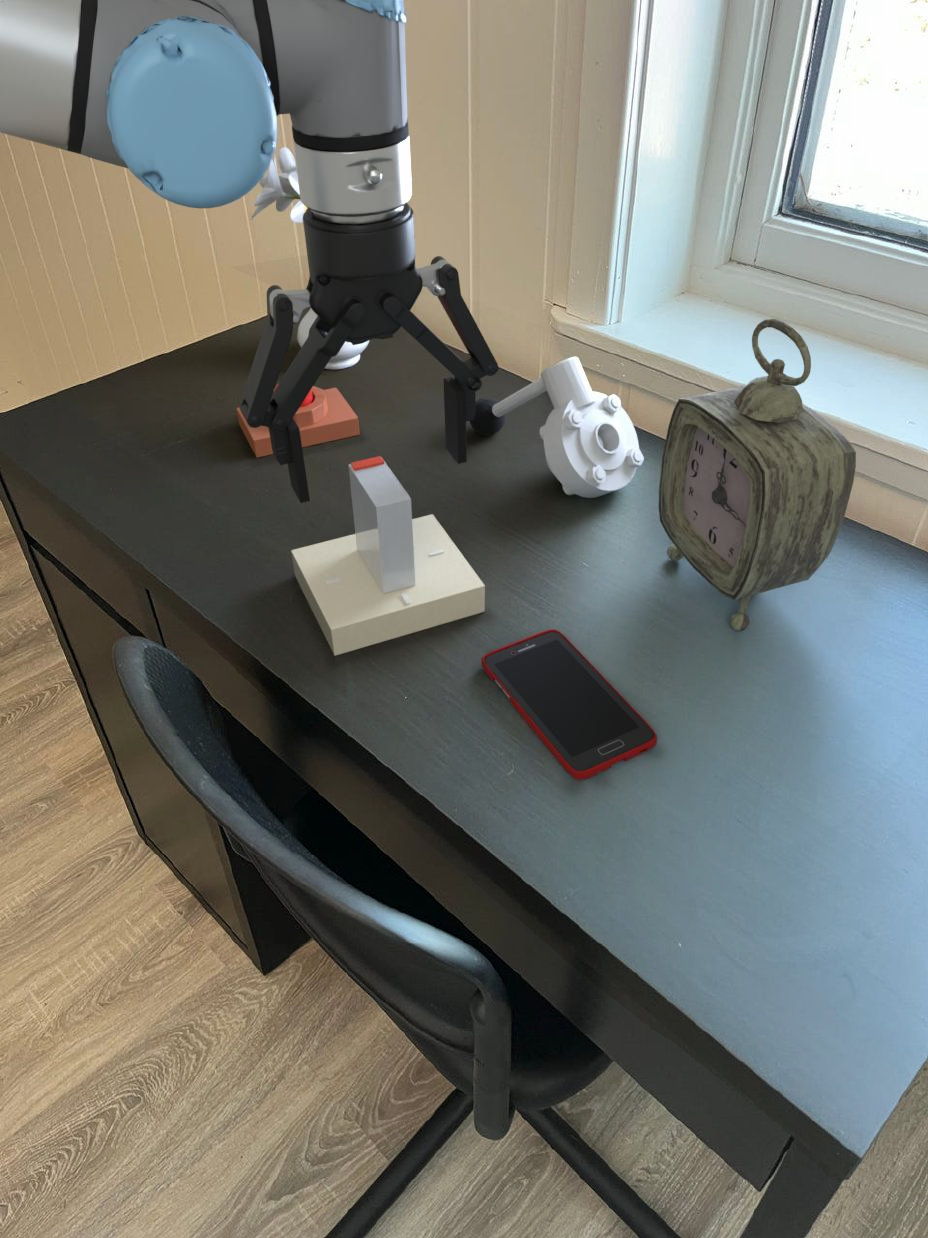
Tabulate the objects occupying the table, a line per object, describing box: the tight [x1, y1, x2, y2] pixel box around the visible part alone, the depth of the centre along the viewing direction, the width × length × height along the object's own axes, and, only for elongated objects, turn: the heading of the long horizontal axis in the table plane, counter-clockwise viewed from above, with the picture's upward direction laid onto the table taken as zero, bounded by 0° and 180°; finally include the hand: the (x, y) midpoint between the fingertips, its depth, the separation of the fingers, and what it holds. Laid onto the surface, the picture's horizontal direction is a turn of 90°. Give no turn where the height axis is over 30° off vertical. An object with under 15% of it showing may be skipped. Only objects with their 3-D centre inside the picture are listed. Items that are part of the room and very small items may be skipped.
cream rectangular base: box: [290, 513, 486, 657], centre depth 85 cm, size 14×12×3 cm
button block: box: [236, 385, 361, 458], centre depth 107 cm, size 12×8×4 cm, turn 114°
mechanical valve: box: [469, 356, 645, 499], centre depth 101 cm, size 10×18×15 cm
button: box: [274, 384, 313, 408], centre depth 106 cm, size 4×4×2 cm
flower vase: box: [250, 146, 371, 370], centre depth 114 cm, size 13×18×25 cm
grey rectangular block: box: [348, 455, 416, 594], centre depth 81 cm, size 7×3×9 cm, turn 24°
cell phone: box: [481, 628, 658, 781], centre depth 75 cm, size 8×15×1 cm, turn 29°
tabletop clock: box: [658, 318, 857, 632], centre depth 78 cm, size 14×9×25 cm, turn 21°
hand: (380, 474), depth 78 cm, fingers open, 13 cm apart
